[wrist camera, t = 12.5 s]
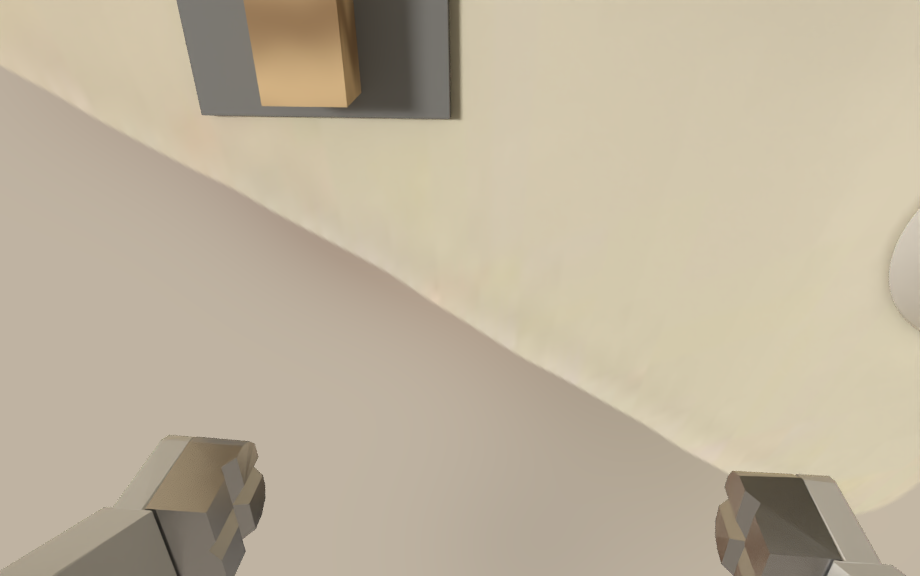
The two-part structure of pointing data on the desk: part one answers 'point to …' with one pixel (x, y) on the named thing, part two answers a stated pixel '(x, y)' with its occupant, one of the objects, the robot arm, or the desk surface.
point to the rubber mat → (379, 53)
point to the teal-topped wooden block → (304, 52)
